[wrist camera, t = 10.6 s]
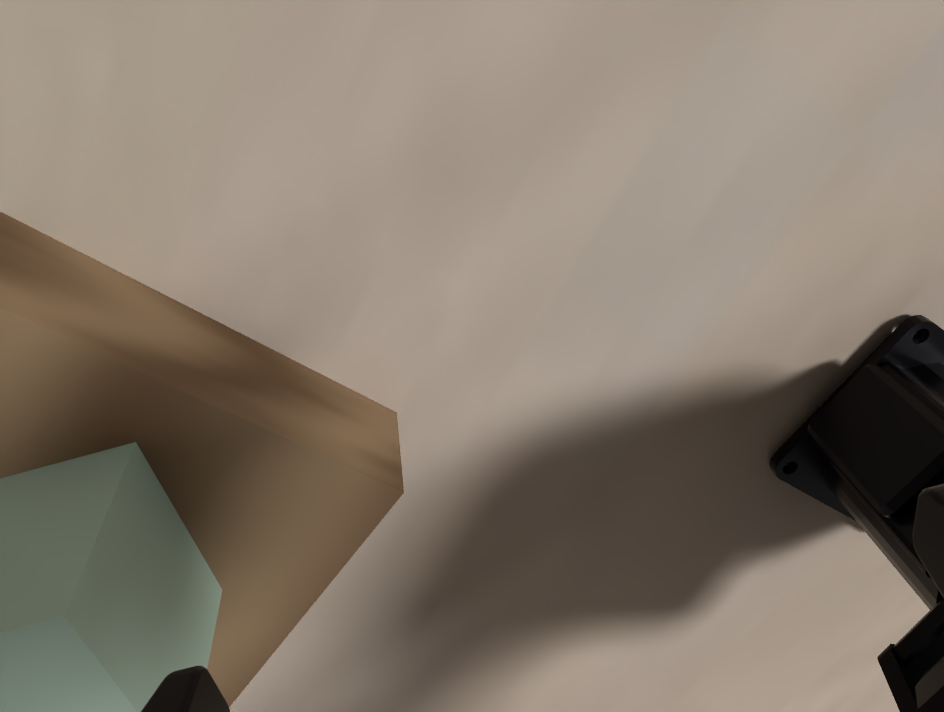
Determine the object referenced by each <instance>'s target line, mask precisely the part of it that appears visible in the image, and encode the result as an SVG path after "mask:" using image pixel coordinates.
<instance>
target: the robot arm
mask: <svg viewBox="0 0 944 712" xmlns="http://www.w3.org/2000/svg"><path fill="white" fill-rule="evenodd" d="M919 330H920V331H919ZM917 331H919V333H918V334H917V335H915V336H914V334H915V333H916V332H917ZM913 336H914V337H913ZM788 462H790V463H789V464H788V465H786V466H785V464H787V463H788ZM769 464H770V468H771V469H772V471H773V472H774V473H775V475H776V476H777V477H778V478H779V479H781V480H782V481H784V482H786V483H788V484H790V485H792V486H793V487H795V488H797V489H799V490H801V491H802V492H804V493H806V494H808V495H810V496H812V497H813V498H815V499H817V500H819V501H821V502H823V503H824V504H826V505H828V506H830V507H832V508H833V509H835V510H837V511H839V512H841V513H843V514H844V515H846V516H848V517H850V518H852V519H853V520H855V521H857V522H858V524H859V525H860V526H861V527H862V528H863V530H864V531H865V532H866V533H867V534H868V536H869V537H870V538H871V539H872V540H873V542H874V543H875V544H876V545H877V546H878V548H879V549H880V550H881V551H882V552H883V554H884V555H885V556H886V557H887V559H888V560H889V561H890V562H891V563H892V565H893V566H894V567H895V568H896V569H897V571H898V572H899V573H900V574H901V575H902V577H903V578H904V579H905V580H906V581H907V583H908V584H909V585H910V586H911V587H912V589H913V590H914V591H915V592H916V593H917V595H918V596H919V597H920V598H921V599H922V601H923V602H924V603H925V604H926V606H927V607H928V608H929V609H930V611H929V612H928V613H927V614H926V615H925V616H924V617H923V618H922V619H921V620H920V621H919V622H918V623H917V624H916V625H915V626H914V627H913V628H912V629H911V630H910V631H909V632H908V633H907V634H906V635H905V636H904V637H903V638H902V639H901V640H900V641H899V642H898V643H897V644H896V645H894V644H890V645H889V646H888V647H887V648H886V649H885V650H884V651H883V652H882V653H881V654H880V655H879V656H878V657H877V658H878V661H879V664H880V666H881V668H882V671H883V673H884V675H885V678H886V680H887V682H888V685H889V687H890V689H891V692H892V694H893V696H894V699H895V701H896V703H897V706H898V708H899V710H900V712H944V330H942V329H941V328H940V327H938V326H937V325H936V324H934V323H933V322H932V321H930V320H929V319H927V318H926V317H924V316H921V315H915V316H912V317H910V318H908V319H906V320H905V321H904V322H902V323H901V324H900V326H899V327H898V328H897V329H896V330H895V331H894V332H893V333H892V334H891V335H890V336H889V337H888V338H887V339H886V340H885V341H884V342H883V343H882V344H881V345H880V346H879V347H878V348H877V349H876V350H875V351H874V352H873V353H872V354H871V355H870V356H869V357H868V358H867V359H866V360H865V361H864V362H863V363H862V365H861V366H860V367H859V368H858V369H857V370H856V371H855V372H854V373H853V374H852V375H851V376H850V377H849V378H848V379H847V380H846V381H845V382H844V383H843V384H842V385H841V386H840V387H839V388H838V389H837V390H836V391H835V392H834V393H833V394H832V395H831V396H830V397H829V398H828V399H827V400H826V401H825V402H824V404H823V405H822V406H821V407H820V408H819V409H818V410H817V411H816V412H815V413H814V414H813V415H812V416H811V417H810V418H809V419H808V420H807V421H806V422H805V423H804V424H803V425H802V426H801V427H800V428H799V429H798V430H797V431H796V432H795V433H794V434H793V435H792V436H791V437H790V438H789V439H788V440H787V441H786V443H785V444H784V445H783V446H782V447H781V448H780V449H779V450H778V451H777V452H776V453H775V454H774V455H773V456H772V458H771V459H770V463H769ZM141 712H230V709H229V706H228V704H227V702H226V700H225V698H224V697H223V695H222V693H221V692H220V690H219V688H218V686H217V685H216V683H215V681H214V680H213V678H212V676H211V674H210V673H209V671H208V670H207V669H206V668H205V667H203V666H193V667H189V668H185V669H181V670H177V671H174V672H171V673H170V674H168V675H167V676H166V677H165V678H164V680H163V681H162V682H161V684H160V685H159V686H158V688H157V689H156V691H155V692H154V694H153V695H152V696H151V698H150V699H149V701H148V702H147V703H146V705H145V706H144V708H143V709H142V711H141Z"/></svg>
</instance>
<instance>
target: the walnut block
mask: <svg viewBox="0 0 944 712" xmlns="http://www.w3.org/2000/svg"><path fill="white" fill-rule="evenodd" d="M134 442H136V443H137V445H138V446H139V448H140V450H141V451H142V453H143V455H144V457H145V458H146V460H147V462H148V463H149V465H150V467H151V468H152V470H153V472H154V474H155V475H156V477H157V479H158V480H159V482H160V484H161V486H162V487H163V489H164V491H165V492H166V494H167V496H168V498H169V499H170V501H171V503H172V504H173V506H174V508H175V510H176V511H177V513H178V515H179V516H180V518H181V520H182V522H183V523H184V525H185V527H186V528H187V530H188V532H189V533H190V535H191V537H192V539H193V540H194V542H195V544H196V545H197V547H198V549H199V551H200V552H201V554H202V556H203V557H204V559H205V561H206V563H207V564H208V566H209V568H210V569H211V571H212V573H213V575H214V576H215V578H216V580H217V581H218V583H219V585H220V587H221V588H222V595H221V600H220V605H219V611H218V616H217V621H216V626H215V631H214V637H213V642H212V647H211V652H210V657H209V662H208V668H207V670H208V671H209V673H210V674H211V676H212V678H213V680H214V681H215V683H216V685H217V686H218V688H219V690H220V692H221V693H222V695H223V697H224V698H225V700H226V702H227V704H228V706H229V707H230V706H231V704H232V703H233V702H234V701H235V700H236V698H237V697H238V696H239V695H240V693H241V692H242V691H243V690H244V688H245V687H246V686H247V685H248V684H249V682H250V681H251V680H252V679H253V677H254V676H255V675H256V674H257V672H258V671H259V670H260V669H261V668H262V666H263V665H264V664H265V663H266V661H267V660H268V659H269V658H270V656H271V655H272V654H273V653H274V652H275V650H276V649H277V648H278V647H279V645H280V644H281V643H282V642H283V640H284V639H285V638H286V637H287V636H288V634H289V633H290V632H291V631H292V629H293V628H294V627H295V626H296V625H297V623H298V622H299V621H300V620H301V618H302V617H303V616H304V615H305V613H306V612H307V611H308V610H309V609H310V607H311V606H312V605H313V604H314V602H315V601H316V600H317V599H318V597H319V596H320V595H321V594H322V593H323V591H324V590H325V589H326V588H327V586H328V585H329V584H330V583H331V581H332V580H333V579H334V578H335V577H336V575H337V574H338V573H339V572H340V570H341V569H342V568H343V567H344V565H345V564H346V563H347V562H348V561H349V559H350V558H351V557H352V556H353V554H354V553H355V552H356V551H357V549H358V548H359V547H360V546H361V545H362V543H363V542H364V541H365V540H366V538H367V537H368V536H369V535H370V534H371V532H372V531H373V530H374V529H375V527H376V526H377V525H378V524H379V522H380V521H381V520H382V519H383V518H384V516H385V515H386V514H387V513H388V511H389V510H390V509H391V508H392V506H393V505H394V504H395V503H396V502H397V500H398V499H399V498H400V497H401V495H402V494H403V493H404V490H403V478H402V467H401V456H400V445H399V433H398V422H397V412H395V411H393V410H391V409H389V408H387V407H385V406H383V405H381V404H379V403H377V402H375V401H373V400H371V399H369V398H367V397H365V396H363V395H361V394H359V393H357V392H355V391H353V390H351V389H349V388H347V387H345V386H343V385H341V384H339V383H337V382H335V381H333V380H331V379H329V378H327V377H326V376H324V375H322V374H320V373H318V372H316V371H314V370H312V369H310V368H308V367H306V366H304V365H302V364H300V363H298V362H296V361H294V360H292V359H290V358H288V357H286V356H284V355H282V354H280V353H278V352H276V351H274V350H272V349H270V348H268V347H266V346H264V345H262V344H260V343H258V342H256V341H254V340H253V339H251V338H249V337H247V336H245V335H243V334H241V333H239V332H237V331H235V330H233V329H231V328H229V327H227V326H225V325H223V324H221V323H219V322H217V321H215V320H213V319H211V318H209V317H207V316H205V315H203V314H201V313H199V312H197V311H195V310H193V309H191V308H189V307H187V306H185V305H183V304H182V303H180V302H178V301H176V300H174V299H172V298H170V297H168V296H166V295H164V294H162V293H160V292H158V291H156V290H154V289H152V288H150V287H148V286H146V285H144V284H142V283H140V282H138V281H136V280H134V279H132V278H130V277H128V276H126V275H124V274H122V273H120V272H118V271H116V270H114V269H112V268H110V267H109V266H107V265H105V264H103V263H101V262H99V261H97V260H95V259H93V258H91V257H89V256H87V255H85V254H83V253H81V252H79V251H77V250H75V249H73V248H71V247H69V246H67V245H65V244H63V243H61V242H59V241H57V240H55V239H53V238H51V237H49V236H47V235H45V234H43V233H41V232H39V231H38V230H36V229H34V228H32V227H30V226H28V225H26V224H24V223H22V222H20V221H18V220H16V219H14V218H12V217H10V216H8V215H6V214H4V213H2V212H1V213H0V478H4V477H8V476H11V475H15V474H19V473H22V472H26V471H30V470H34V469H37V468H41V467H45V466H48V465H52V464H56V463H59V462H63V461H67V460H71V459H74V458H78V457H82V456H85V455H89V454H93V453H97V452H100V451H104V450H108V449H111V448H115V447H119V446H123V445H126V444H130V443H134Z"/></svg>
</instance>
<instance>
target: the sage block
mask: <svg viewBox="0 0 944 712" xmlns="http://www.w3.org/2000/svg"><path fill="white" fill-rule="evenodd" d="M221 595H222V588H221V587H220V585H219V583H218V581H217V580H216V578H215V576H214V575H213V573H212V571H211V569H210V568H209V566H208V564H207V563H206V561H205V559H204V557H203V556H202V554H201V552H200V551H199V549H198V547H197V545H196V544H195V542H194V540H193V539H192V537H191V535H190V533H189V532H188V530H187V528H186V527H185V525H184V523H183V522H182V520H181V518H180V516H179V515H178V513H177V511H176V510H175V508H174V506H173V504H172V503H171V501H170V499H169V498H168V496H167V494H166V492H165V491H164V489H163V487H162V486H161V484H160V482H159V480H158V479H157V477H156V475H155V474H154V472H153V470H152V468H151V467H150V465H149V463H148V462H147V460H146V458H145V457H144V455H143V453H142V451H141V450H140V448H139V446H138V445H137V443H136V442H134V443H130V444H126V445H123V446H119V447H115V448H111V449H108V450H104V451H100V452H97V453H93V454H89V455H85V456H82V457H78V458H74V459H71V460H67V461H63V462H59V463H56V464H52V465H48V466H45V467H41V468H37V469H34V470H30V471H26V472H22V473H19V474H15V475H11V476H8V477H4V478H0V712H141V711H142V709H143V708H144V706H145V705H146V703H147V702H148V701H149V699H150V698H151V696H152V695H153V694H154V692H155V691H156V689H157V688H158V686H159V685H160V684H161V682H162V681H163V680H164V678H165V677H166V676H167V675H168V674H170V673H171V672H174V671H177V670H181V669H185V668H189V667H193V666H203V667H205V668H206V669H207V668H208V662H209V657H210V652H211V647H212V642H213V637H214V631H215V626H216V621H217V616H218V611H219V605H220V600H221Z"/></svg>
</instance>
